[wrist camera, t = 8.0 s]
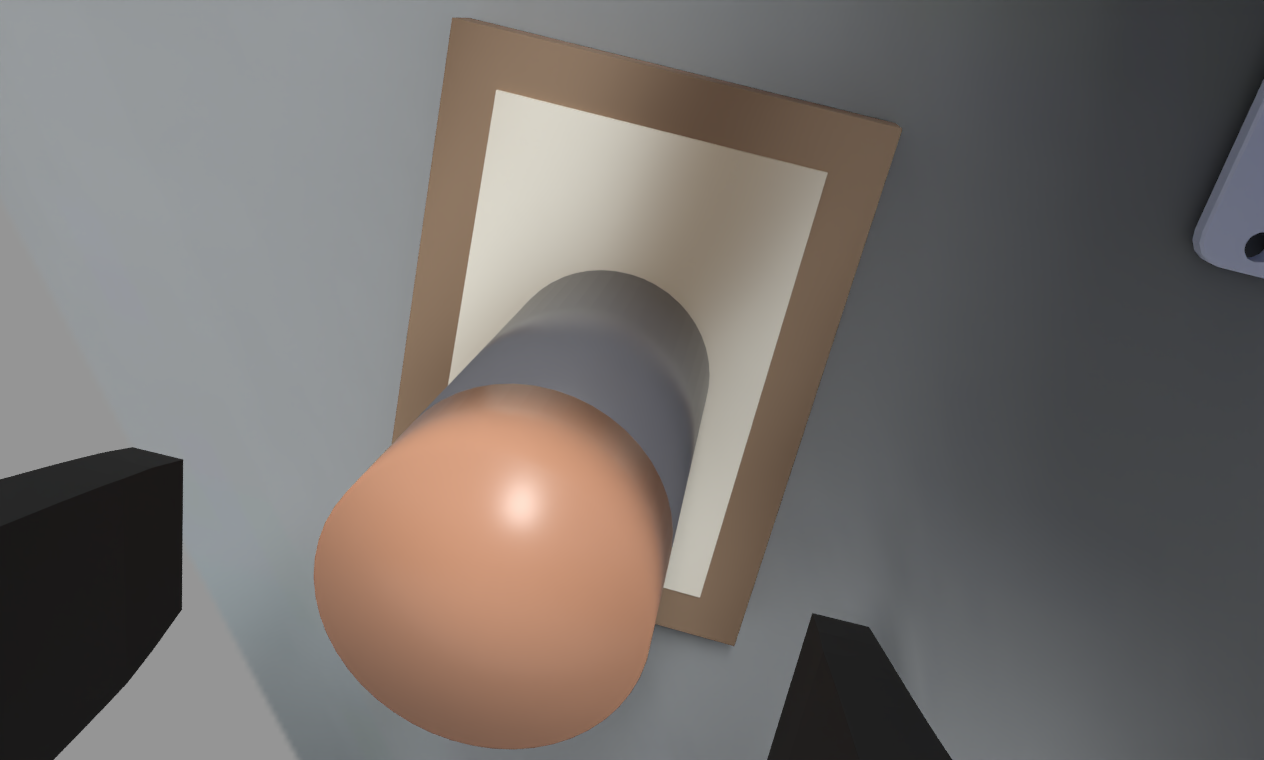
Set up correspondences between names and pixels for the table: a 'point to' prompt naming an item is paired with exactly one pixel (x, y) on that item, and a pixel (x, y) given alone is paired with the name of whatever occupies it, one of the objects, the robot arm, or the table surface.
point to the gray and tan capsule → (524, 521)
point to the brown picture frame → (652, 254)
